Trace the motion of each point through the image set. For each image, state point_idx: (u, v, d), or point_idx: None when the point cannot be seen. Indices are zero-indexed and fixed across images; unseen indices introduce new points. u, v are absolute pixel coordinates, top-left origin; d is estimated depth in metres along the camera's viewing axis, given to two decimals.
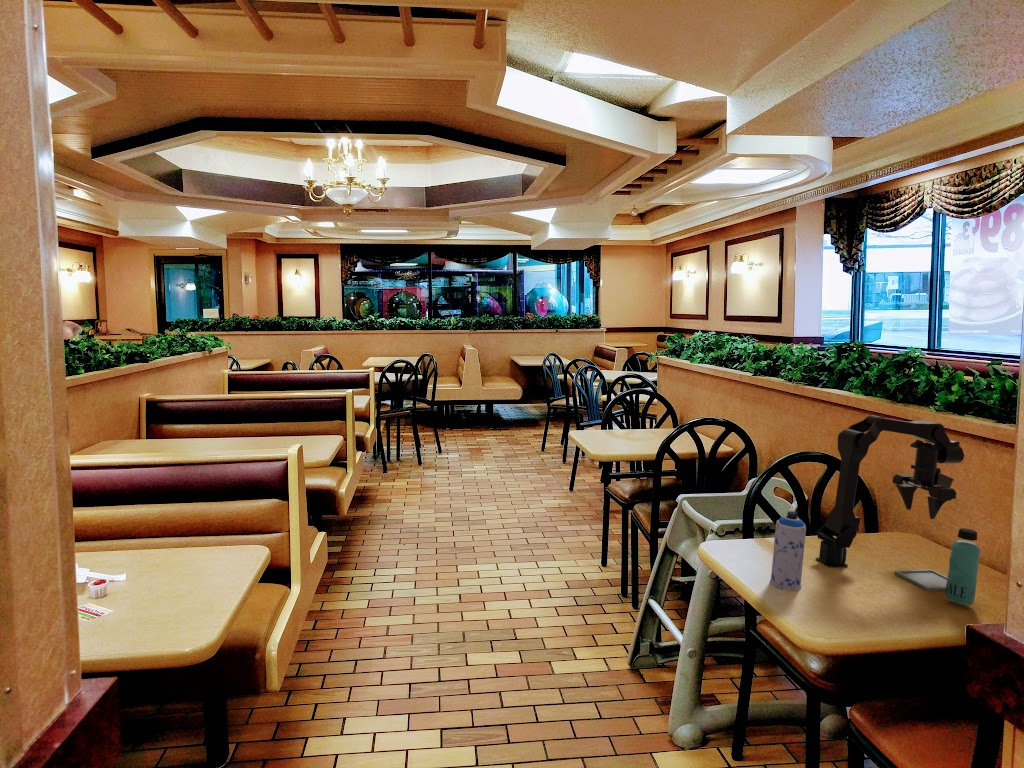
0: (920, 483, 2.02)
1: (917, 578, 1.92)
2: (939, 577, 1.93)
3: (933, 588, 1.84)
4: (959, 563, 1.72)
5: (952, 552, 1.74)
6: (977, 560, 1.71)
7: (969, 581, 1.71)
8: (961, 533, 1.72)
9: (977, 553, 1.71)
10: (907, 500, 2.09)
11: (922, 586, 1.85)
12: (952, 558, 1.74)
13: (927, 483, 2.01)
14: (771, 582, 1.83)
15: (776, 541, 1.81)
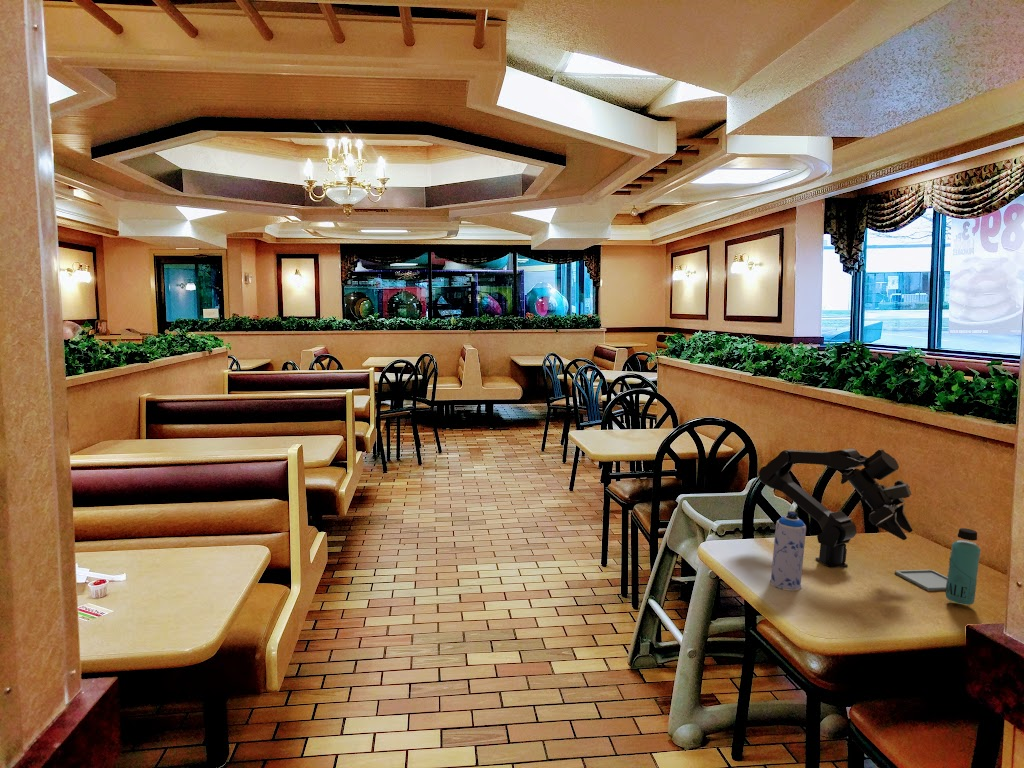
0: None
1: (917, 578, 1.92)
2: (939, 577, 1.93)
3: (933, 588, 1.84)
4: (959, 563, 1.72)
5: (952, 552, 1.74)
6: (977, 560, 1.71)
7: (969, 581, 1.71)
8: (961, 533, 1.72)
9: (977, 553, 1.71)
10: (901, 524, 1.92)
11: (922, 586, 1.85)
12: (952, 558, 1.74)
13: (876, 508, 1.89)
14: (771, 582, 1.83)
15: (776, 541, 1.81)
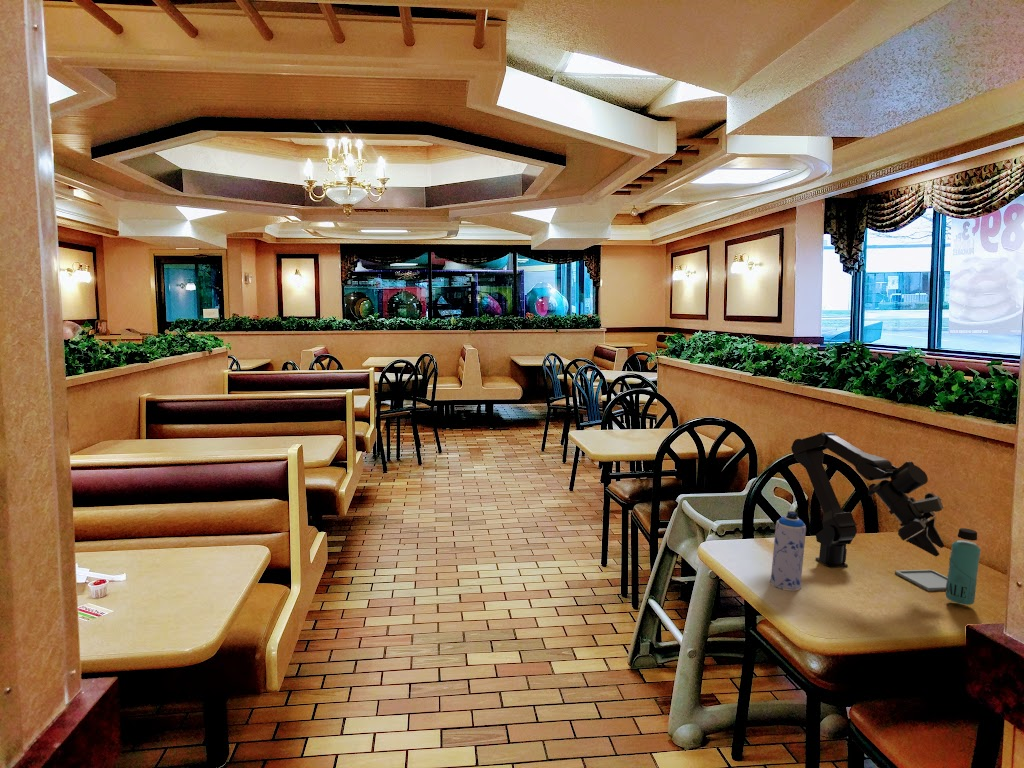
0: None
1: (917, 578, 1.92)
2: (939, 577, 1.93)
3: (933, 588, 1.84)
4: (959, 563, 1.72)
5: (952, 552, 1.74)
6: (977, 560, 1.71)
7: (969, 581, 1.71)
8: (961, 533, 1.72)
9: (977, 553, 1.71)
10: (932, 539, 1.82)
11: (922, 586, 1.85)
12: (952, 558, 1.74)
13: (906, 522, 1.79)
14: (771, 582, 1.83)
15: (776, 541, 1.81)
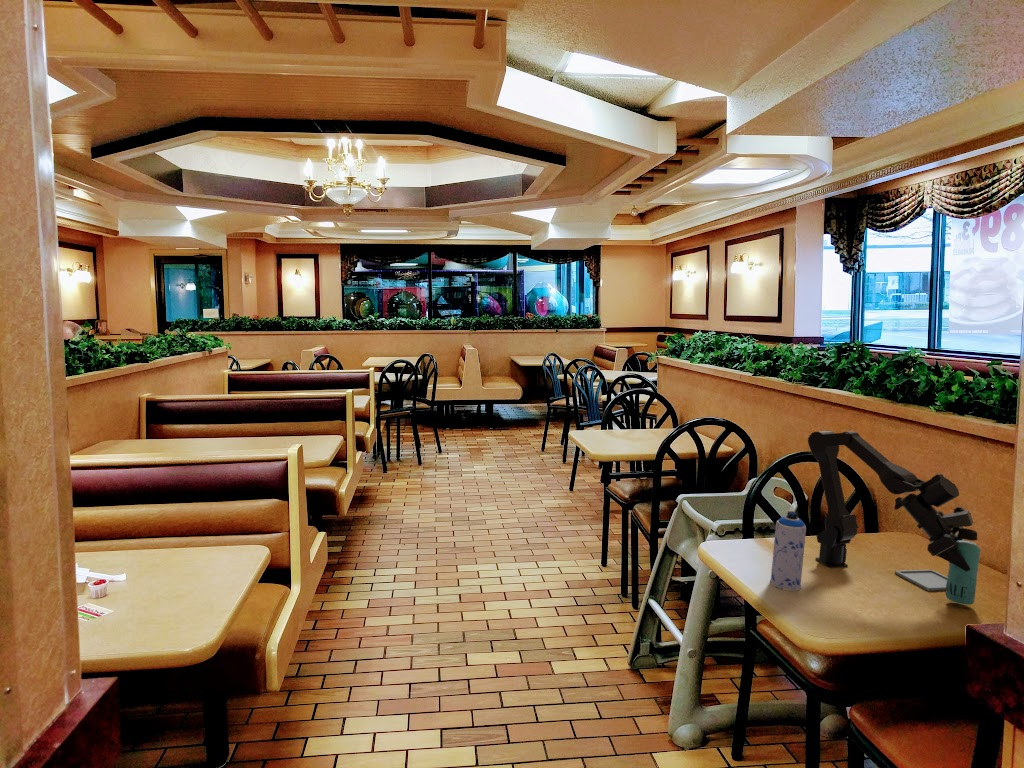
0: None
1: (917, 578, 1.92)
2: (939, 577, 1.93)
3: (933, 588, 1.84)
4: None
5: None
6: (977, 560, 1.71)
7: (969, 581, 1.71)
8: (961, 533, 1.72)
9: (977, 553, 1.71)
10: None
11: (922, 586, 1.85)
12: None
13: (935, 537, 1.75)
14: (771, 582, 1.83)
15: (776, 541, 1.81)
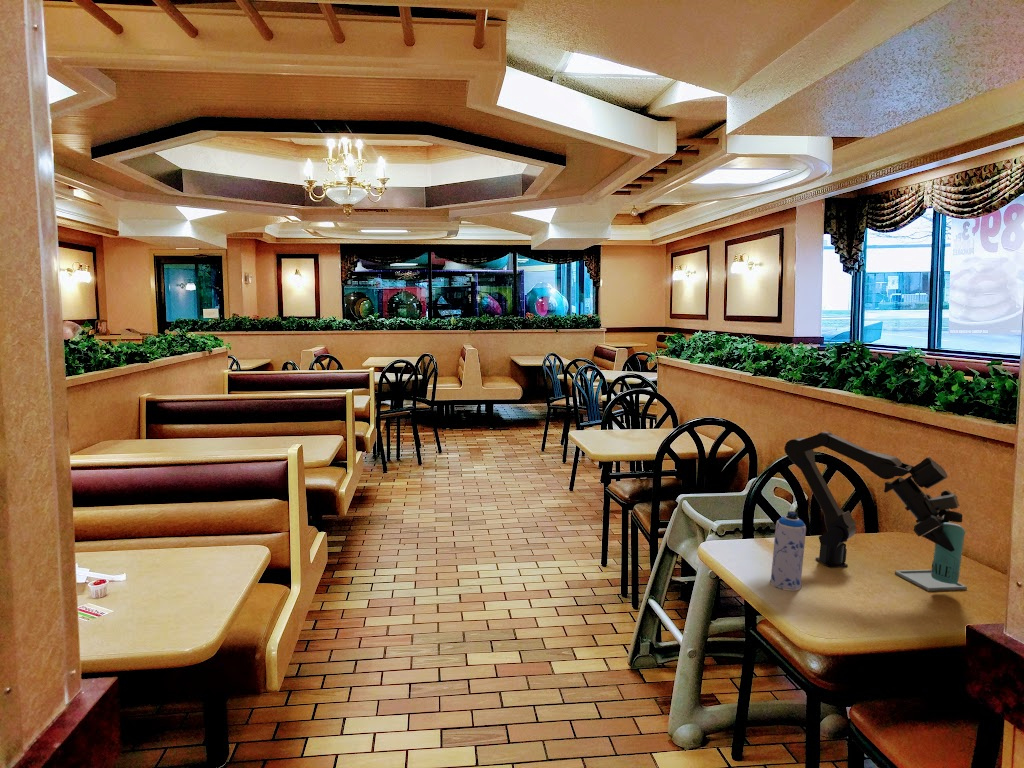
0: None
1: (917, 578, 1.92)
2: None
3: (933, 588, 1.84)
4: None
5: None
6: (961, 541, 1.78)
7: (953, 561, 1.78)
8: (947, 515, 1.79)
9: (962, 534, 1.78)
10: None
11: (922, 586, 1.85)
12: None
13: (922, 518, 1.82)
14: (771, 582, 1.83)
15: (776, 541, 1.81)
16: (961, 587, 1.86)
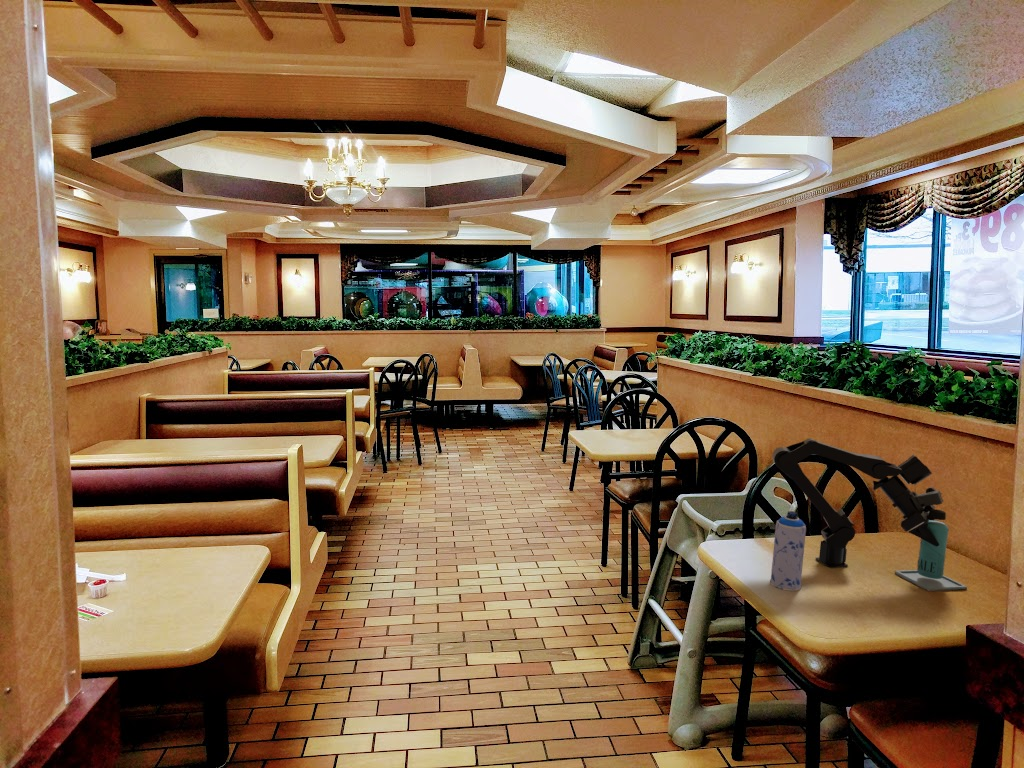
0: None
1: (917, 578, 1.92)
2: None
3: (933, 588, 1.84)
4: None
5: None
6: (945, 538, 1.87)
7: (938, 557, 1.87)
8: (931, 513, 1.88)
9: (945, 531, 1.86)
10: None
11: (922, 586, 1.85)
12: None
13: (908, 515, 1.91)
14: (771, 582, 1.83)
15: (776, 541, 1.81)
16: (961, 587, 1.86)
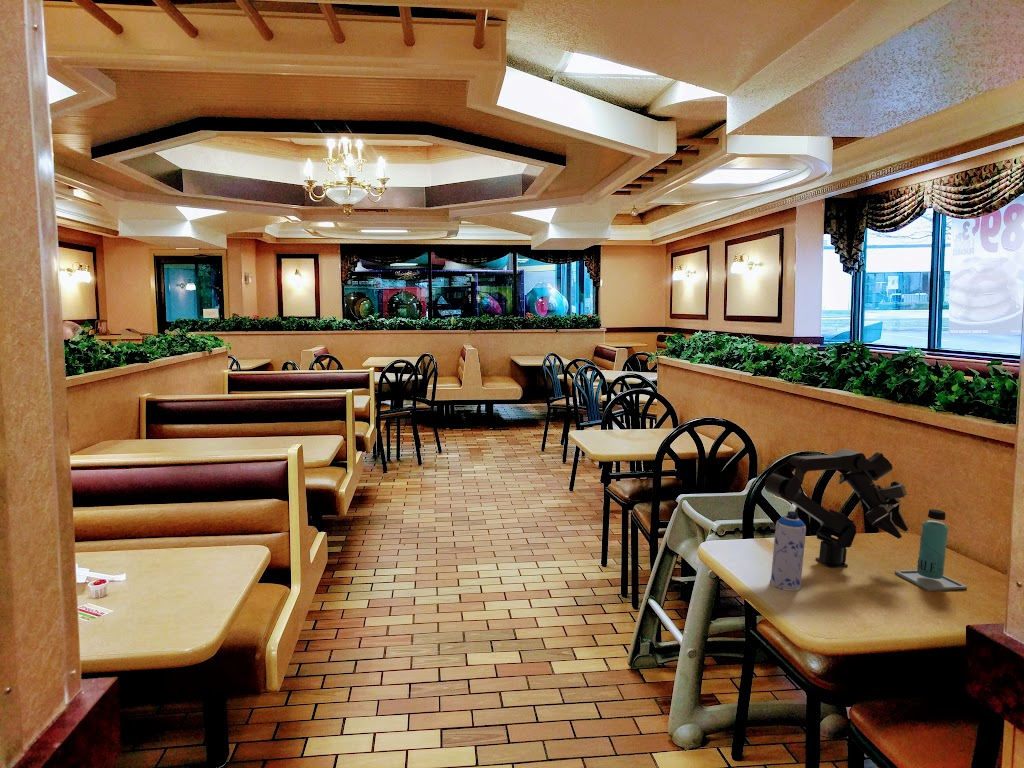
0: None
1: (917, 578, 1.92)
2: None
3: (933, 588, 1.84)
4: (929, 540, 1.87)
5: (923, 531, 1.90)
6: (945, 538, 1.87)
7: (938, 557, 1.87)
8: (931, 513, 1.88)
9: (945, 531, 1.86)
10: (897, 523, 1.99)
11: (922, 586, 1.85)
12: (923, 536, 1.89)
13: (873, 507, 1.96)
14: (771, 582, 1.83)
15: (776, 541, 1.81)
16: (961, 587, 1.86)
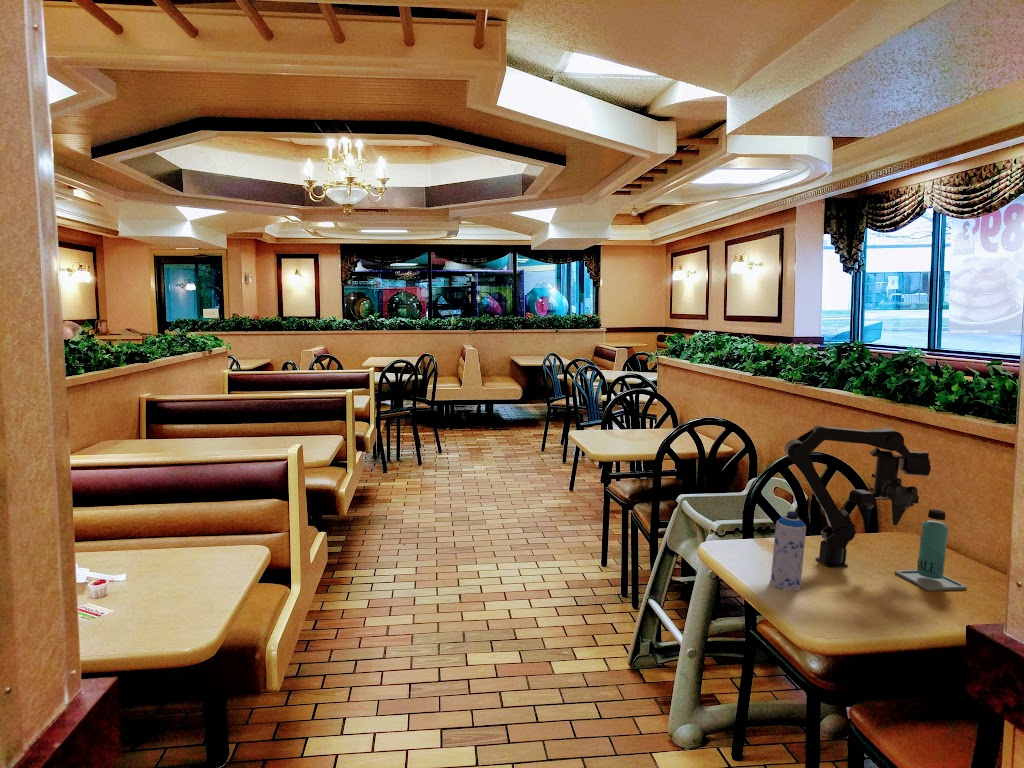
0: None
1: (917, 578, 1.92)
2: None
3: (933, 588, 1.84)
4: (929, 540, 1.87)
5: (923, 531, 1.90)
6: (945, 538, 1.87)
7: (938, 557, 1.87)
8: (931, 513, 1.88)
9: (945, 531, 1.86)
10: (893, 514, 1.99)
11: (922, 586, 1.85)
12: (923, 536, 1.89)
13: (874, 490, 1.97)
14: (771, 582, 1.83)
15: (776, 541, 1.81)
16: (961, 587, 1.86)
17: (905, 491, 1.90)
